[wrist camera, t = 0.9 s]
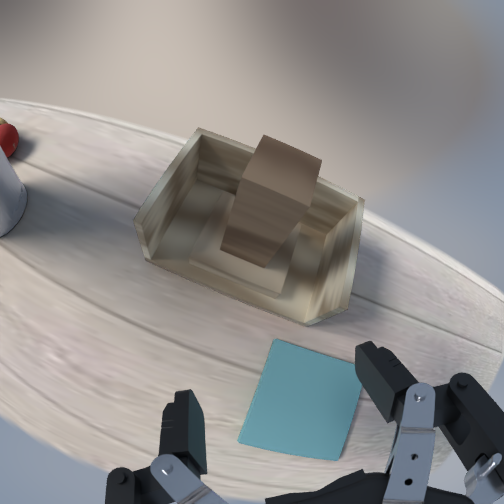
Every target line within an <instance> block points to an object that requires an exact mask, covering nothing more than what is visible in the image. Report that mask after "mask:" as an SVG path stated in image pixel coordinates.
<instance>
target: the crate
mask: <svg viewBox="0 0 504 504" xmlns="http://www.w3.org/2000/svg"><path fill="white" fill-rule="evenodd" d="M255 150H256V149H255V148H253V147H250V146H247V145H245V144H242V143H240V142H237V141H234V140H232V139H229V138H227V137H224V136H221V135H218V134H216V133H213V132H210V131H207V130H204V129H201V128H198V129H197V130H196V131H195V132H194V134H193V135H192V136H191V138H190V139H189V140H188V141H187V143H186V144H185V145H184V147H183V148H182V149H181V151H180V152H179V153H178V155H177V156H176V157H175V159H174V160H173V161H172V163H171V164H170V166H169V167H168V168H167V170H166V171H165V173H164V174H163V175H162V177H161V178H160V180H159V181H158V183H157V184H156V186H155V187H154V189H153V190H152V192H151V193H150V195H149V196H148V198H147V199H146V201H145V202H144V204H143V205H142V207H141V208H140V210H139V212H138V213H137V215H136V216H135V218H134V220H133V221H134V225H135V228H136V231H137V235H138V238H139V241H140V244H141V247H142V251H143V254H144V257H145V260H146V261H148V262H150V263H153V264H155V265H157V266H159V267H161V268H164V269H166V270H168V271H170V272H173V273H175V274H177V275H179V276H182V277H184V278H186V279H188V280H191V281H193V282H195V283H198V284H200V285H202V286H205V287H207V288H209V289H212V290H214V291H217V292H219V293H221V294H224V295H226V296H229V297H231V298H233V299H236V300H238V301H241V302H243V303H246V304H248V305H251V306H253V307H256V308H258V309H261V310H263V311H266V312H269V313H271V314H274V315H276V316H279V317H282V318H284V319H287V320H290V321H292V322H295V323H298V324H300V325H303V326H306V327H307V326H310V325H312V324H315V323H317V322H320V321H322V320H324V319H327V318H329V317H331V316H334V315H336V314H338V313H341V312H343V311H345V310H347V309H348V304H349V299H350V294H351V289H352V284H353V279H354V273H355V267H356V261H357V255H358V249H359V242H360V235H361V227H362V220H363V211H364V201H365V200H364V199H362V198H361V197H359V196H356V195H355V194H353V193H351V192H349V191H347V190H345V189H343V188H341V187H339V186H337V185H335V184H333V183H331V182H329V181H327V180H325V179H323V178H321V177H319V176H318V178H317V182H316V186H315V190H314V193H313V197H312V201H311V204H310V207H309V209H308V210H307V211H306V213H305V214H304V215H303V217H302V218H301V220H300V221H299V222H298V224H297V225H296V226H295V228H294V229H293V230H292V232H291V233H290V234H289V236H288V237H287V239H286V240H285V241H284V243H283V244H282V245H281V247H280V248H279V249H278V251H277V252H276V253H275V255H274V256H273V257H272V259H271V260H270V261H269V263H268V264H267V265H266V267H265V268H262V267H259V266H257V265H255V264H252V263H250V262H247V261H245V260H243V259H240V258H238V257H235V256H233V255H231V254H228V253H226V252H224V251H221V250H220V247H221V243H222V240H223V236H224V233H225V230H226V226H227V223H228V219H229V216H230V213H231V209H232V206H233V203H234V200H235V196H236V193H237V190H238V187H239V183H240V180H241V177H242V175H243V173H244V171H245V169H246V167H247V165H248V163H249V161H250V160H251V158H252V156H253V154H254V152H255Z"/></svg>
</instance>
